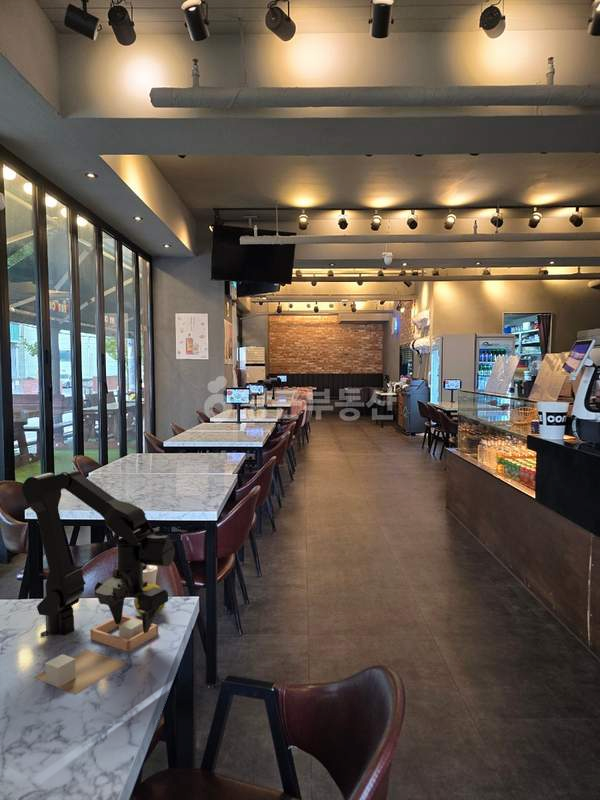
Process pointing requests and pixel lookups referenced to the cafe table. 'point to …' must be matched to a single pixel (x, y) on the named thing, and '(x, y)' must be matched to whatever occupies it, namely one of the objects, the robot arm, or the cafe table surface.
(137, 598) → the lemon
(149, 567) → the smoothie
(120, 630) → the cream cube
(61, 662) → the stone
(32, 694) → the cafe table surface
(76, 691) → the board
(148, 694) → the cafe table surface
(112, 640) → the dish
